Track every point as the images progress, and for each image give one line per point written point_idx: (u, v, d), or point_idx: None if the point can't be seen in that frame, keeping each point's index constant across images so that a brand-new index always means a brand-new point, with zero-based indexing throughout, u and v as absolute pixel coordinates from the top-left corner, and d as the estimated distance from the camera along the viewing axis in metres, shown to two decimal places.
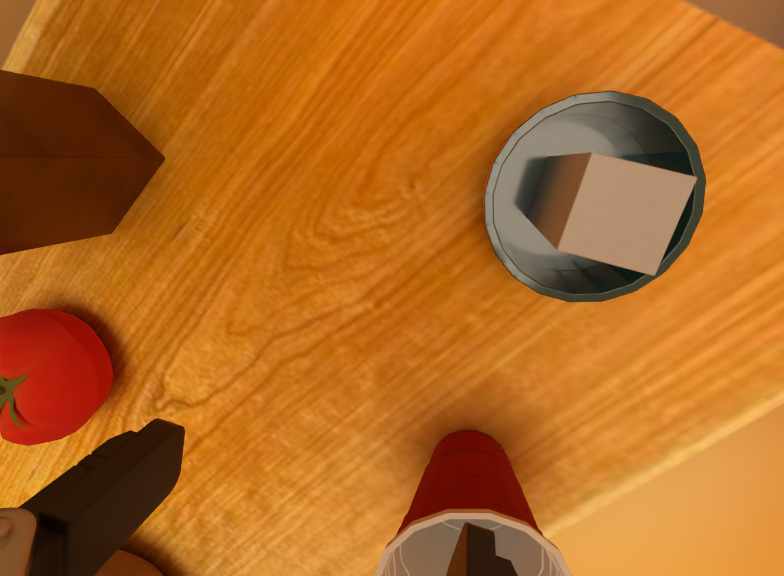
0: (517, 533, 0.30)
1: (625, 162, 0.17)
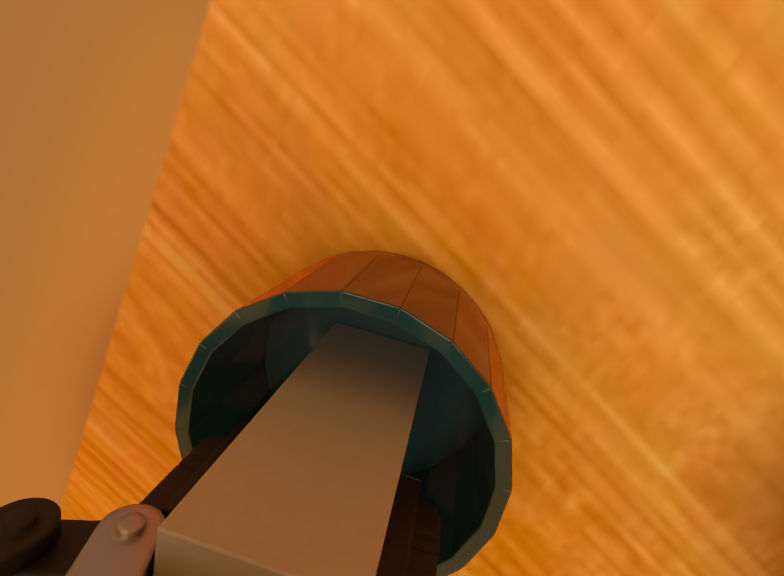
0: None
1: None
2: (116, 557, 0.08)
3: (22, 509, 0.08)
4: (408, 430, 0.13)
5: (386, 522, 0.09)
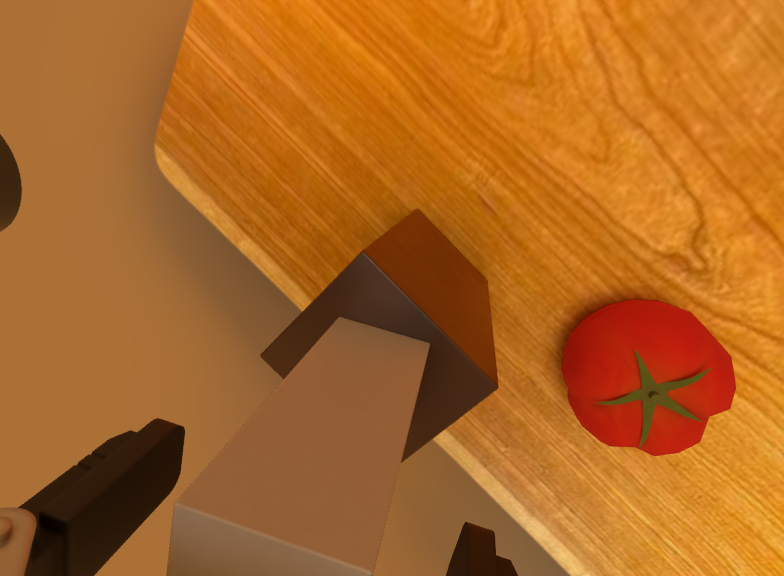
0: None
1: None
2: None
3: None
4: (409, 418, 0.13)
5: (389, 501, 0.10)
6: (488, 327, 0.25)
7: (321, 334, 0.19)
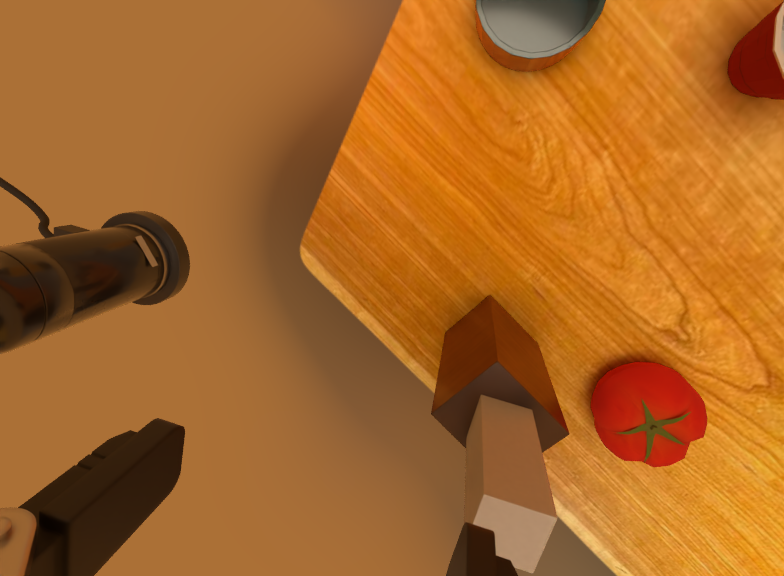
0: None
1: None
2: None
3: None
4: (542, 456, 0.29)
5: (551, 494, 0.25)
6: (552, 390, 0.40)
7: (469, 403, 0.35)
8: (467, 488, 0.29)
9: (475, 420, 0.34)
